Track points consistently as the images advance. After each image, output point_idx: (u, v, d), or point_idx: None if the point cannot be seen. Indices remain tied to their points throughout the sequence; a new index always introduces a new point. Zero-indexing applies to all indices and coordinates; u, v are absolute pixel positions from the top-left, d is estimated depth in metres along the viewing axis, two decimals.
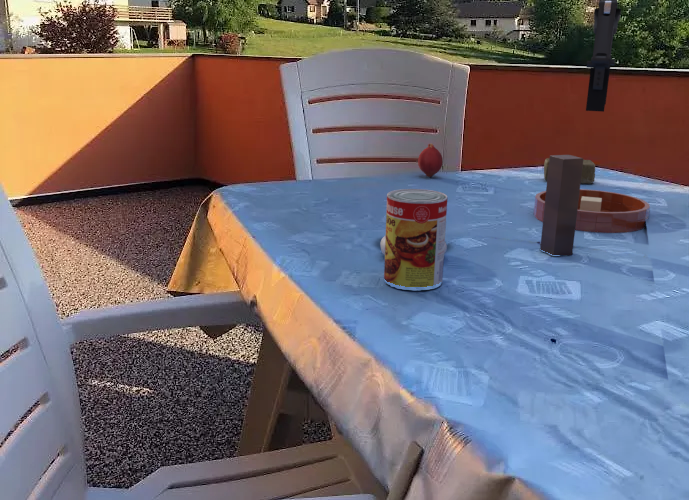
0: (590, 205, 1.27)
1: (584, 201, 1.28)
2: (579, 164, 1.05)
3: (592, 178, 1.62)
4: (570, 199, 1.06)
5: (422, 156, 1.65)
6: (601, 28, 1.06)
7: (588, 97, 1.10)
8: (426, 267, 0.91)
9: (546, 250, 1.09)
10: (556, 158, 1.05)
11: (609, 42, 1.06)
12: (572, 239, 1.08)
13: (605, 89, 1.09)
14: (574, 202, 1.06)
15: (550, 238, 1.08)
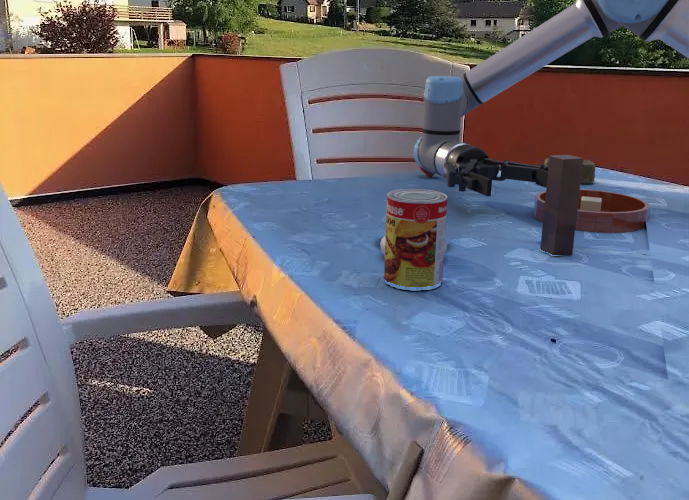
0: (590, 205, 1.27)
1: (584, 201, 1.28)
2: (579, 164, 1.05)
3: (592, 178, 1.62)
4: (570, 199, 1.06)
5: None
6: (447, 176, 1.25)
7: (480, 192, 1.16)
8: (426, 267, 0.91)
9: (546, 250, 1.09)
10: (556, 158, 1.05)
11: None
12: (572, 239, 1.08)
13: (477, 177, 1.17)
14: (574, 202, 1.06)
15: (550, 238, 1.08)
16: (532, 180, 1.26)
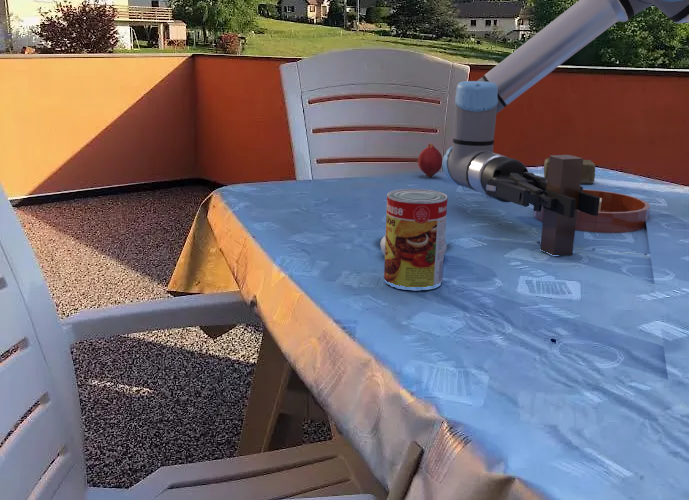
0: None
1: None
2: (579, 164, 1.05)
3: (592, 178, 1.62)
4: None
5: (422, 156, 1.65)
6: (504, 194, 1.12)
7: (560, 213, 1.04)
8: (426, 267, 0.91)
9: (546, 250, 1.09)
10: (556, 158, 1.05)
11: (513, 188, 1.10)
12: (572, 239, 1.08)
13: (557, 195, 1.05)
14: None
15: (550, 238, 1.08)
16: None
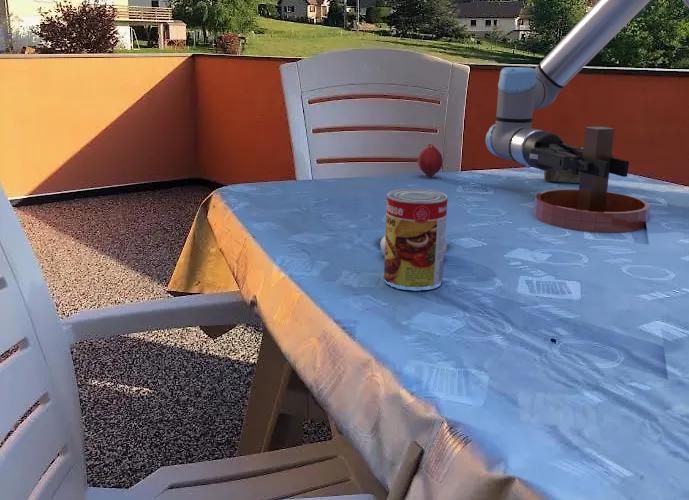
0: None
1: None
2: (611, 134, 1.25)
3: None
4: None
5: (422, 156, 1.65)
6: (545, 161, 1.32)
7: (596, 174, 1.24)
8: (426, 267, 0.91)
9: (582, 207, 1.30)
10: (591, 129, 1.25)
11: (554, 156, 1.30)
12: (604, 198, 1.28)
13: (592, 160, 1.25)
14: None
15: (586, 197, 1.28)
16: None
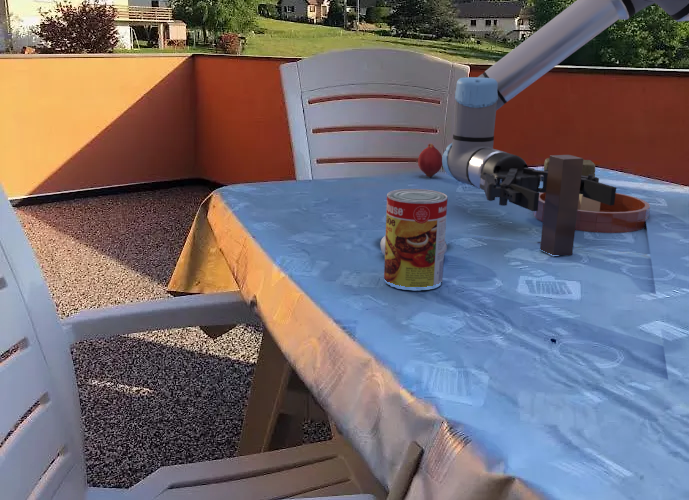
0: (590, 199, 1.32)
1: None
2: (579, 164, 1.05)
3: None
4: (570, 199, 1.06)
5: (422, 156, 1.65)
6: (485, 188, 1.13)
7: (525, 207, 1.04)
8: (426, 267, 0.91)
9: (546, 250, 1.09)
10: (556, 158, 1.05)
11: (486, 182, 1.11)
12: (572, 239, 1.08)
13: (521, 189, 1.05)
14: (573, 202, 1.06)
15: (550, 238, 1.08)
16: None
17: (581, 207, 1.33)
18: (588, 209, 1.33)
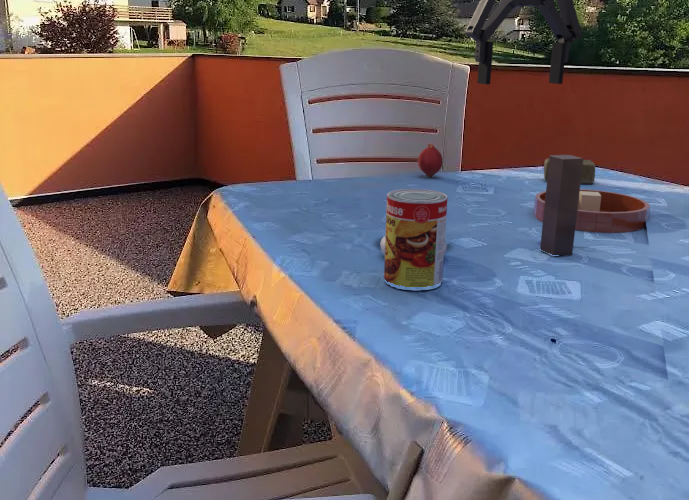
0: (590, 199, 1.32)
1: (585, 196, 1.32)
2: (579, 164, 1.05)
3: (592, 178, 1.62)
4: (570, 199, 1.06)
5: (422, 156, 1.65)
6: (481, 2, 1.10)
7: (478, 70, 1.14)
8: (426, 267, 0.91)
9: (546, 250, 1.09)
10: (556, 158, 1.05)
11: (479, 15, 1.09)
12: (572, 239, 1.08)
13: (487, 62, 1.11)
14: (573, 202, 1.06)
15: (550, 238, 1.08)
16: (555, 35, 1.16)
17: (581, 207, 1.33)
18: (588, 209, 1.33)
